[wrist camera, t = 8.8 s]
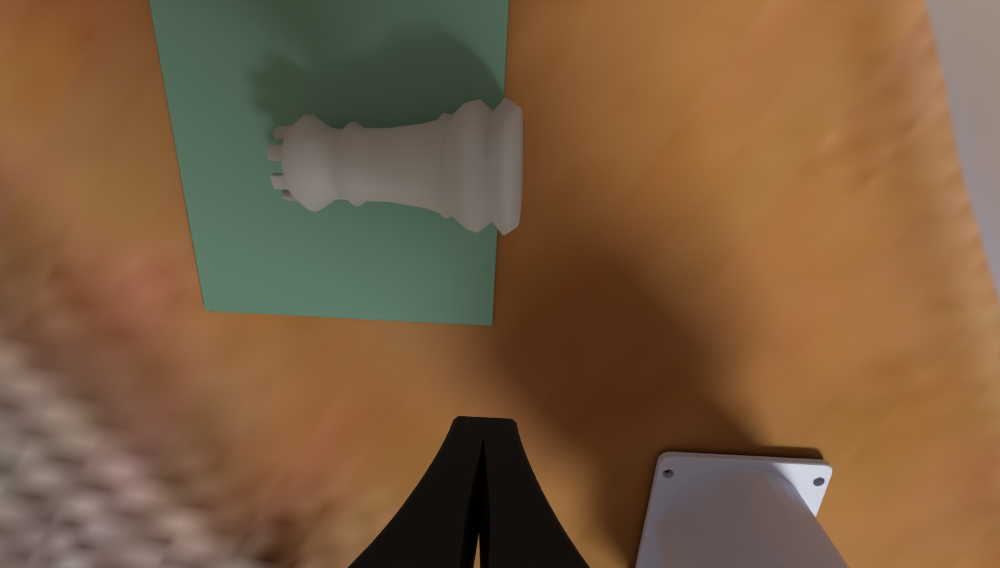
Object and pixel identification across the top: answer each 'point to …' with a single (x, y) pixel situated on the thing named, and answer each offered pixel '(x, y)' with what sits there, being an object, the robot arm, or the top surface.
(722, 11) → the top surface
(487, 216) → the rook chess piece
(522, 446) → the robot arm
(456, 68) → the felt mat
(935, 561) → the top surface
